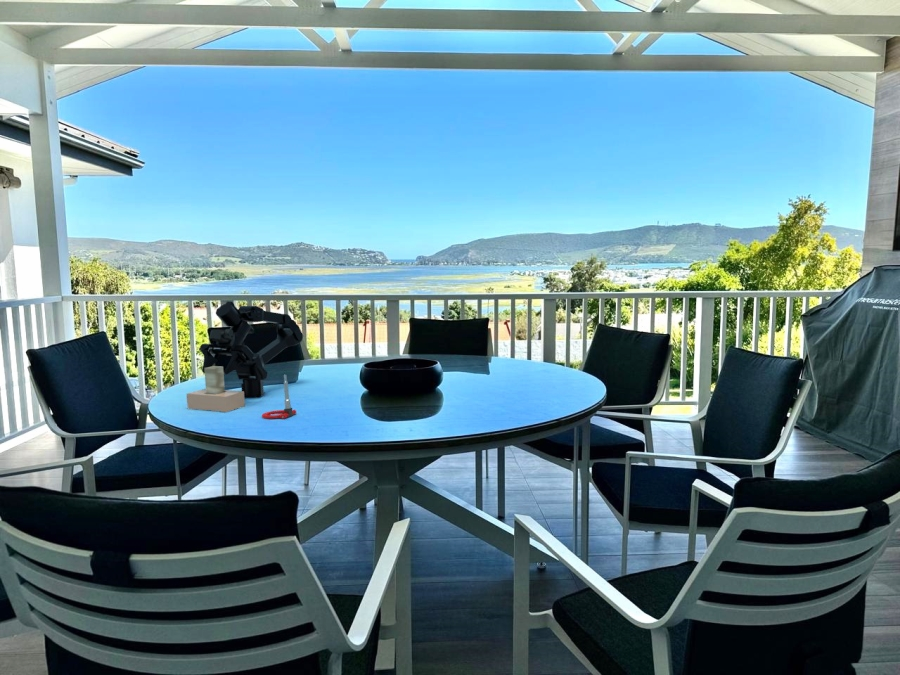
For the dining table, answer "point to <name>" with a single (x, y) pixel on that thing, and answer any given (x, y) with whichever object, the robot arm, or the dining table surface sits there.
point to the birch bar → (214, 380)
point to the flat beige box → (215, 400)
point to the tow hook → (288, 409)
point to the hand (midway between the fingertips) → (214, 373)
